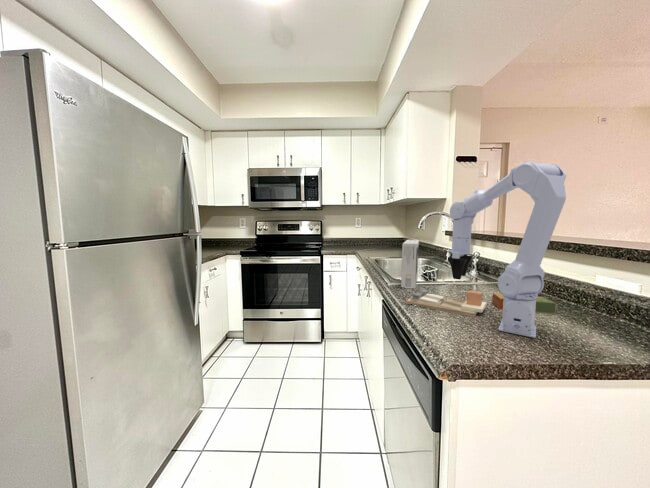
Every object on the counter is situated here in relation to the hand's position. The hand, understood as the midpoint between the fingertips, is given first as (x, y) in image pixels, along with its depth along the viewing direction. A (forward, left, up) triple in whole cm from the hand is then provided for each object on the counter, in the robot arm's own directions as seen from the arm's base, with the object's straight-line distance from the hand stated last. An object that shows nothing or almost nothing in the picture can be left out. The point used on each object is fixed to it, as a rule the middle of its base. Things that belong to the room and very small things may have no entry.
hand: (459, 277), depth 95 cm
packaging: (+28, +27, -10) cm, 40 cm away
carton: (+11, -18, -11) cm, 24 cm away
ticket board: (-2, +4, -10) cm, 11 cm away
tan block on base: (-2, -5, -9) cm, 11 cm away
